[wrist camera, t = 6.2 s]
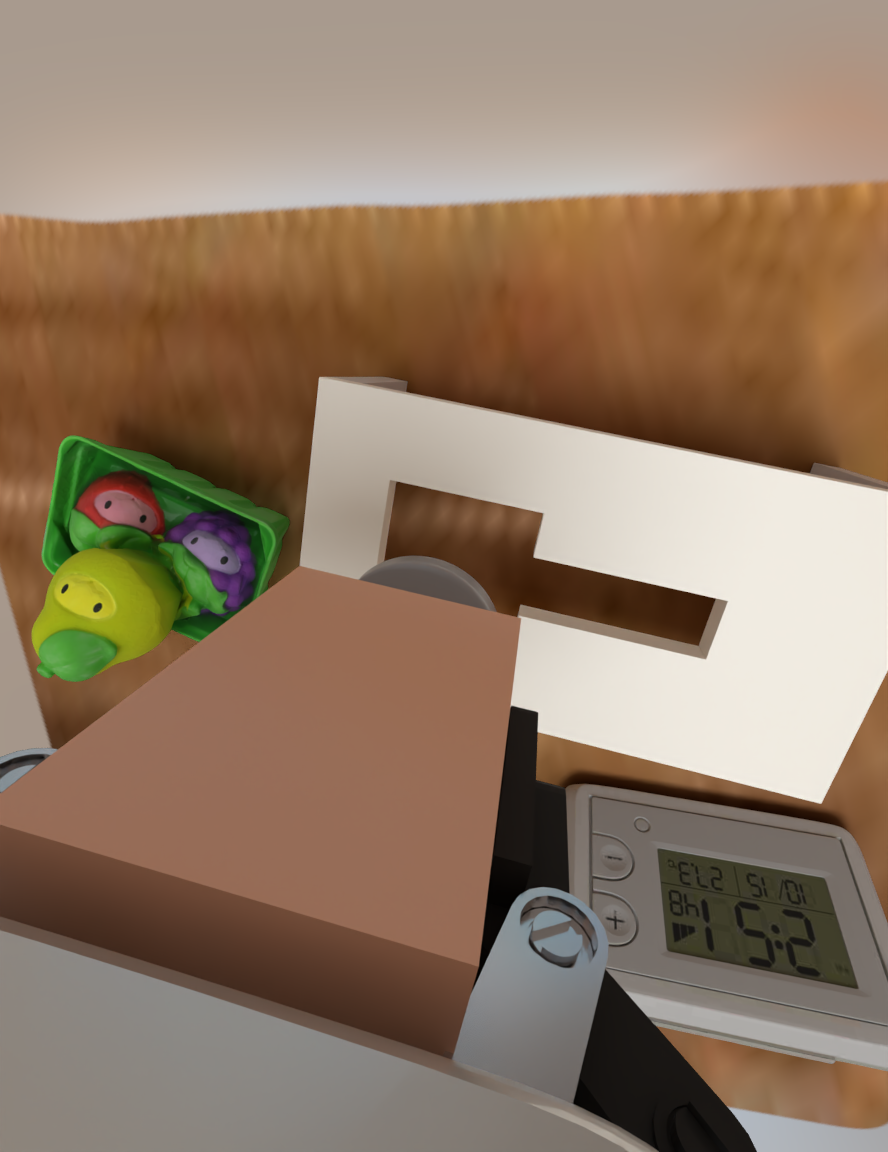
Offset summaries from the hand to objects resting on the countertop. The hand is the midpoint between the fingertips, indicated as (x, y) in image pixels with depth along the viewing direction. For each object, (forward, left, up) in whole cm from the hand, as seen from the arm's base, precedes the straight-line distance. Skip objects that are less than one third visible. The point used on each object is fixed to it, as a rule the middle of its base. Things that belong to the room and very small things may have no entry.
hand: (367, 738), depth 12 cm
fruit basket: (-5, +15, -21) cm, 26 cm away
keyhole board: (0, -5, -20) cm, 21 cm away
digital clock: (-16, -16, -21) cm, 31 cm away
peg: (0, 0, -5) cm, 5 cm away
